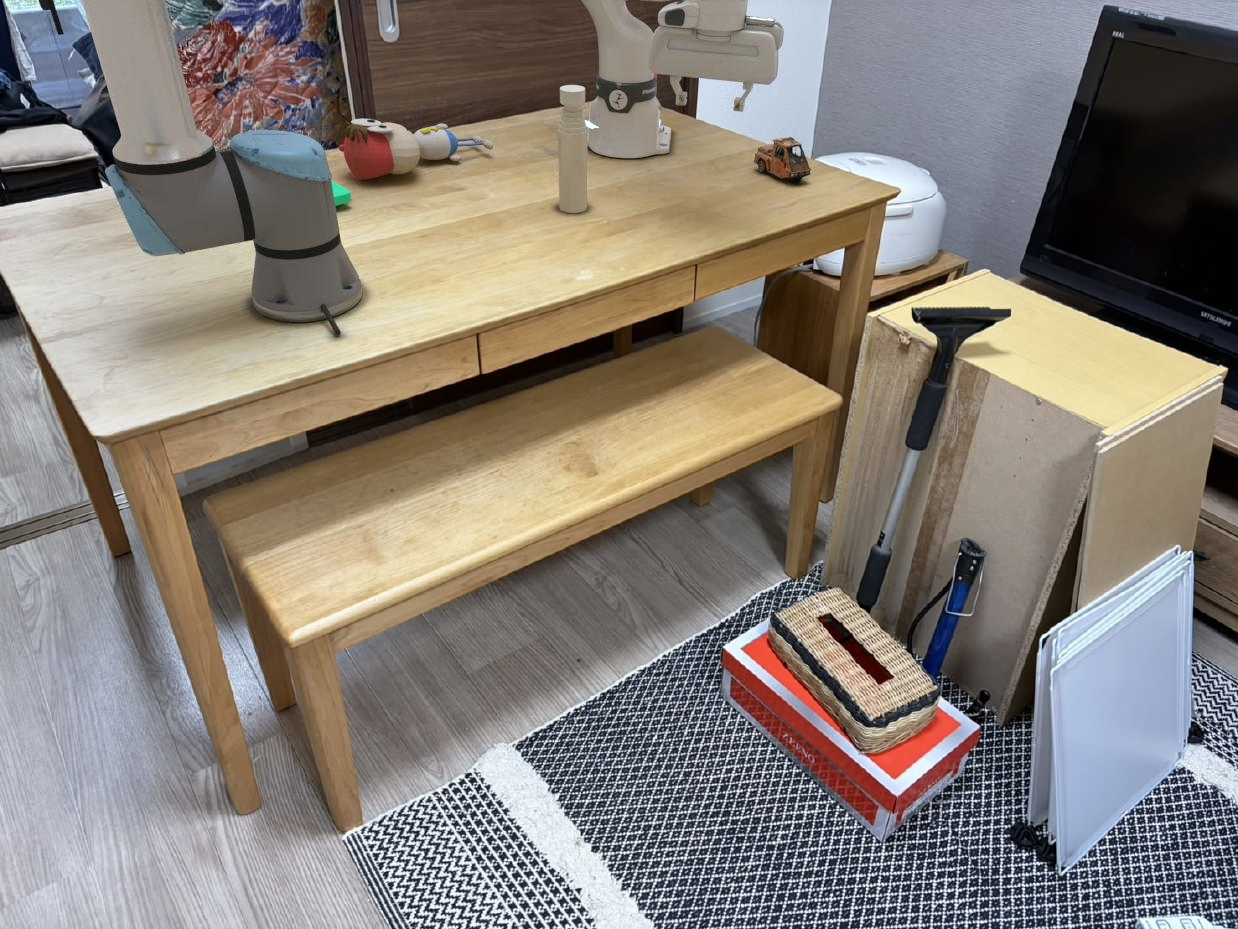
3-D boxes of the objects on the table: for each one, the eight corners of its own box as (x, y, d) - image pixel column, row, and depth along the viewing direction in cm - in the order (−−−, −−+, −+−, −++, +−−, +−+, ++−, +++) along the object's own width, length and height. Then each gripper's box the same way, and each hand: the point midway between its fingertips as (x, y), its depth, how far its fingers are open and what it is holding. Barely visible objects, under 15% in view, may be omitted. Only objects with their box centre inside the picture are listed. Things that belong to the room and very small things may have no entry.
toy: (509, 125, 177) (354, 129, 162) (508, 179, 181) (358, 188, 166) (468, 109, 190) (322, 111, 175) (468, 160, 195) (326, 166, 180)
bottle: (592, 209, 165) (593, 91, 153) (570, 215, 162) (569, 96, 150) (575, 200, 168) (575, 85, 156) (553, 206, 166) (551, 89, 153)
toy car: (770, 163, 186) (774, 128, 182) (815, 180, 179) (820, 144, 175) (747, 169, 183) (751, 133, 179) (792, 187, 176) (798, 150, 172)
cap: (590, 103, 154) (590, 89, 153) (570, 107, 152) (569, 93, 151) (575, 97, 157) (575, 83, 155) (554, 101, 155) (554, 87, 153)
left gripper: (151, -134, 141) (187, 17, 154) (-38, -132, 131) (17, 30, 144) (159, -130, 136) (195, 26, 149) (-37, -127, 126) (20, 41, 138)
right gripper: (788, 15, 141) (776, 108, 149) (658, 4, 145) (653, 96, 153) (782, 23, 136) (771, 119, 144) (648, 11, 140) (644, 106, 148)
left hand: (108, 29), depth 146 cm, fingers open, 13 cm apart
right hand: (709, 107), depth 149 cm, fingers open, 8 cm apart
